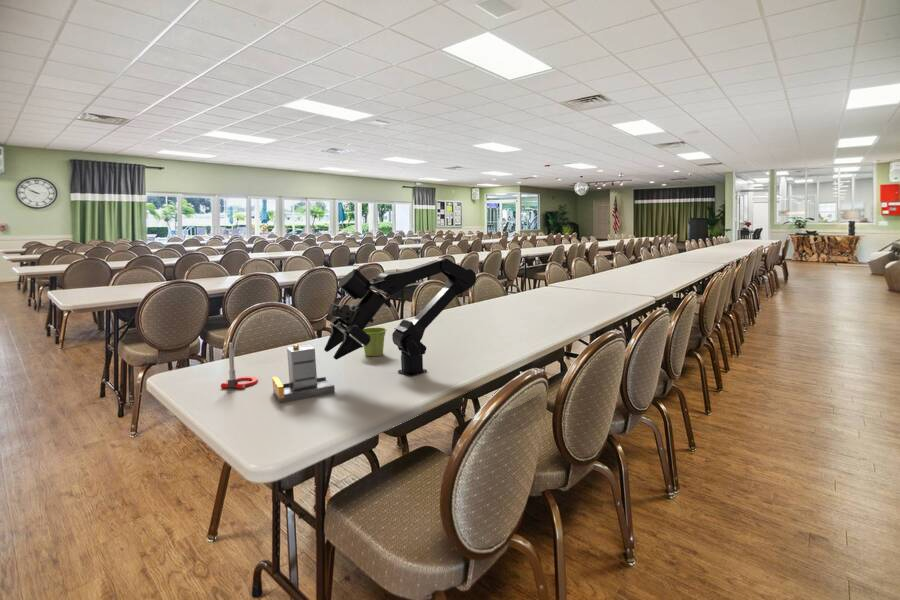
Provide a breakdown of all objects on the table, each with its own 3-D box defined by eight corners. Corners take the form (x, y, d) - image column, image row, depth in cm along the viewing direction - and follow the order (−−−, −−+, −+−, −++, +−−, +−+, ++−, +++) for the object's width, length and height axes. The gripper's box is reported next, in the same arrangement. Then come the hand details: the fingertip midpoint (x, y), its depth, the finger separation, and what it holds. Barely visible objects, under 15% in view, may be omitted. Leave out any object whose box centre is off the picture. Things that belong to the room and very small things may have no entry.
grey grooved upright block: (312, 383, 129) (309, 340, 127) (317, 389, 124) (314, 344, 122) (289, 387, 126) (286, 343, 124) (294, 393, 121) (290, 348, 119)
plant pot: (355, 354, 162) (353, 330, 161) (377, 349, 169) (376, 326, 167) (369, 359, 156) (368, 334, 154) (393, 354, 162) (391, 329, 160)
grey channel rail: (325, 382, 133) (324, 368, 132) (334, 392, 125) (333, 377, 124) (273, 392, 126) (272, 377, 125) (279, 403, 118) (278, 387, 117)
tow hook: (237, 379, 139) (217, 389, 130) (235, 337, 138) (214, 343, 128) (263, 380, 138) (245, 390, 129) (261, 337, 136) (242, 343, 127)
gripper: (334, 288, 135) (299, 331, 132) (355, 295, 119) (315, 344, 116) (362, 311, 141) (329, 353, 137) (386, 322, 124) (348, 369, 121)
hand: (329, 354), depth 128 cm, fingers open, 9 cm apart
